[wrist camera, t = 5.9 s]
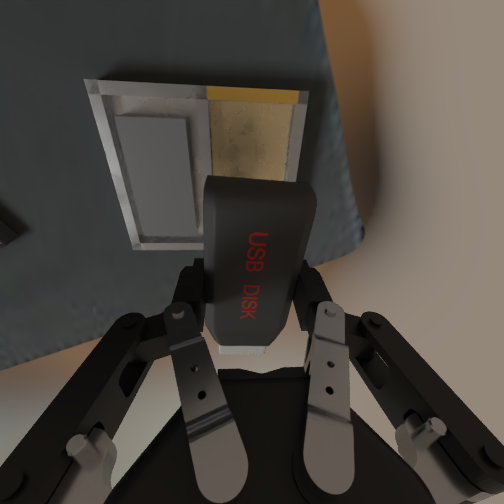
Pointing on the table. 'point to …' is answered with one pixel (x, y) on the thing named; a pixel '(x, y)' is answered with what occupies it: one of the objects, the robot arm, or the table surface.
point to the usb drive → (252, 257)
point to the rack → (204, 138)
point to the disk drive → (6, 235)
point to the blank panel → (160, 172)
